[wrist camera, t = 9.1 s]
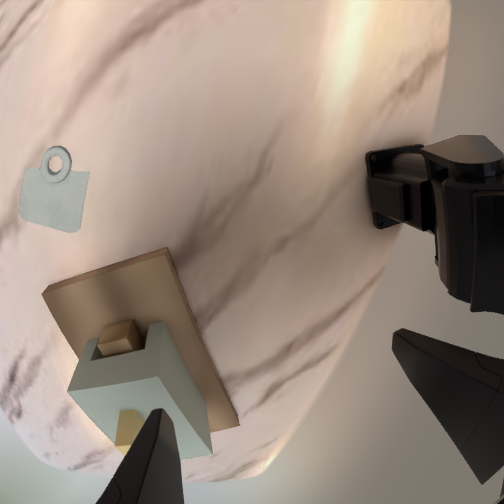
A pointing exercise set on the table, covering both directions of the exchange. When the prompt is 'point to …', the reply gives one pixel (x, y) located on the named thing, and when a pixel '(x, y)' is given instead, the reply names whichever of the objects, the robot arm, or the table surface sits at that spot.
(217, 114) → the table surface
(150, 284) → the cleat board
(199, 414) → the cabinet block
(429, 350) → the robot arm
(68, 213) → the mounting bracket
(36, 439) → the table surface
